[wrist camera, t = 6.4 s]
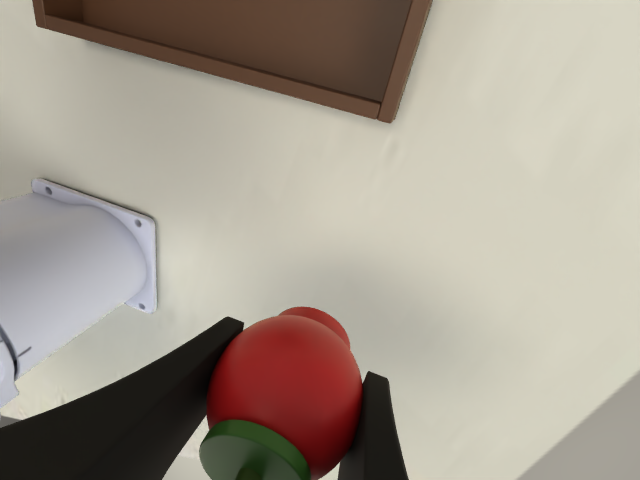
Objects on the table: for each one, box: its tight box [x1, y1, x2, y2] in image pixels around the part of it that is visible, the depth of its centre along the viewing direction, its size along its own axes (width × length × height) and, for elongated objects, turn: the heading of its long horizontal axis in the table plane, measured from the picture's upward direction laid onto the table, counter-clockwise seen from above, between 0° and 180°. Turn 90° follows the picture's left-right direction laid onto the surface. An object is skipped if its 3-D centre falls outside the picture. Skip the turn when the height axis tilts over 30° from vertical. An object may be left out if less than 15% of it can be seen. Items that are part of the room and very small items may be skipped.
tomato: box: [199, 307, 363, 480], centre depth 9 cm, size 5×5×6 cm
